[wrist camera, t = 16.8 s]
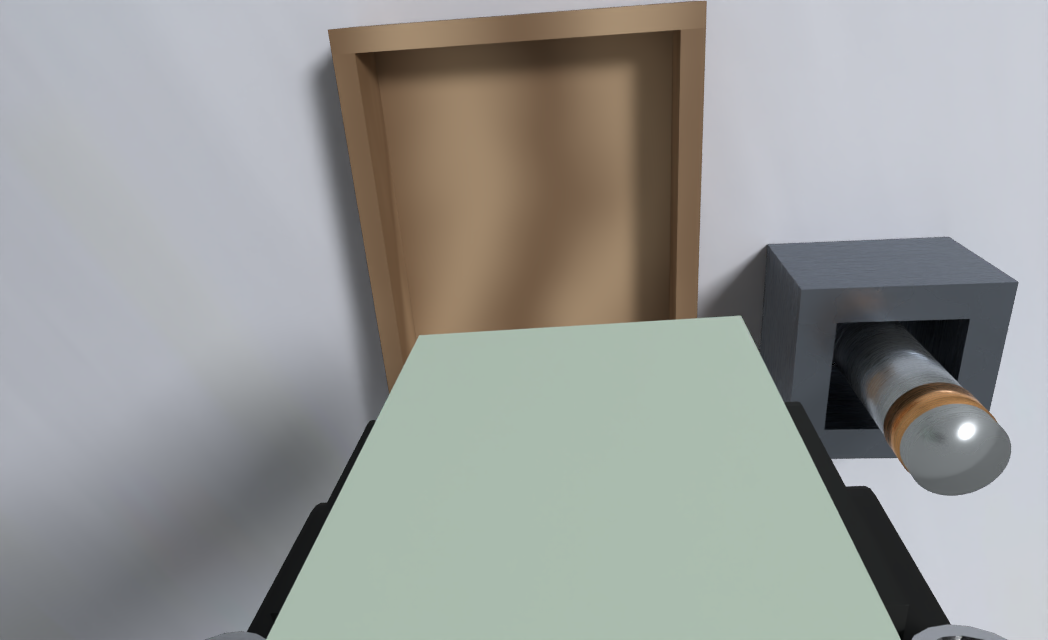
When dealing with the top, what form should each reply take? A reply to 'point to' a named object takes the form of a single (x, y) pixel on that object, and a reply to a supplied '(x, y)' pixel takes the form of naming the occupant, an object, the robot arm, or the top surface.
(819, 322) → the block
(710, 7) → the top surface
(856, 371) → the cylinder
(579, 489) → the pale green block
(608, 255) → the tray
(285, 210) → the top surface
